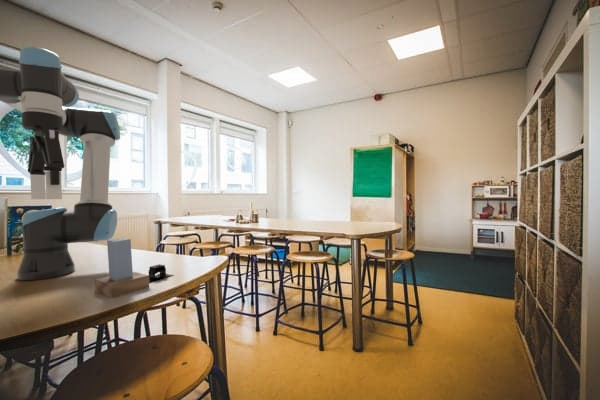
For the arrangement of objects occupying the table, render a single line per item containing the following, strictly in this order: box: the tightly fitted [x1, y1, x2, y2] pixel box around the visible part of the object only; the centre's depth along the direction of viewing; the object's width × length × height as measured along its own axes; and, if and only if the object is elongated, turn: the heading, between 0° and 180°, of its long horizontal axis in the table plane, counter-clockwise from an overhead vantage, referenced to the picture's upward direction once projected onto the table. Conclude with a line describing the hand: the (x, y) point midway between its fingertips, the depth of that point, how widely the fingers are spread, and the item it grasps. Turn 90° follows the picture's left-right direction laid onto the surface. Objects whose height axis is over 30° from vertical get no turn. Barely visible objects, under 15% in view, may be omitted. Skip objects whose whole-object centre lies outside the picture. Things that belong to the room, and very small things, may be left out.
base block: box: [94, 270, 150, 299], centre depth 82 cm, size 10×10×4 cm
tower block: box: [106, 237, 134, 281], centre depth 81 cm, size 4×4×11 cm
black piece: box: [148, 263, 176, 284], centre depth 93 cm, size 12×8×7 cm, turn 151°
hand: (45, 199), depth 70 cm, fingers open, 13 cm apart
